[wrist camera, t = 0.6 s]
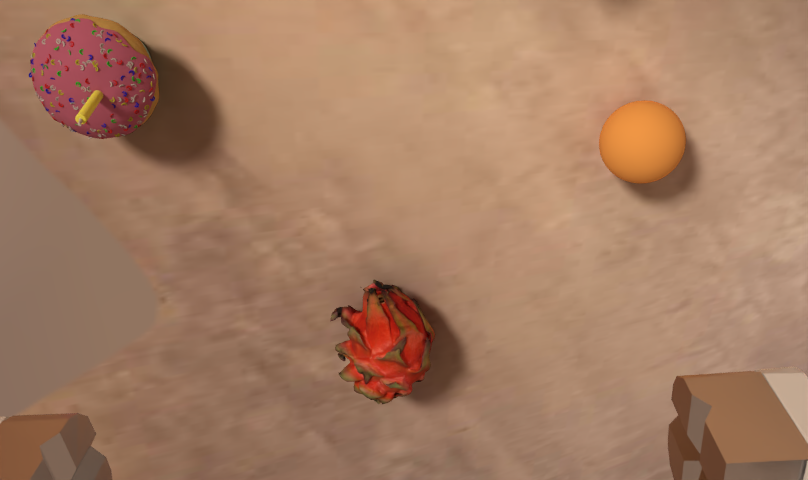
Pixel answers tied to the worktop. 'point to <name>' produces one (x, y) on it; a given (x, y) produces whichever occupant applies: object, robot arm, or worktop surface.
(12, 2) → the worktop surface
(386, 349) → the dragon fruit
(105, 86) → the cupcake
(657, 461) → the worktop surface
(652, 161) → the ball
